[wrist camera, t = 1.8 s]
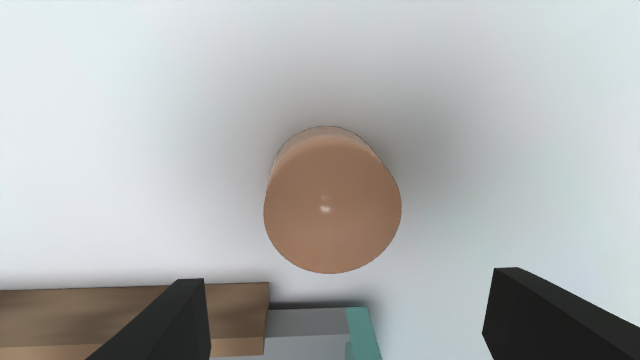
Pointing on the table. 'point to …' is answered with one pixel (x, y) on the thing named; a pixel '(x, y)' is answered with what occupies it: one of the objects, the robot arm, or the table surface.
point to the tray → (318, 335)
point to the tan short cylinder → (330, 201)
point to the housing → (121, 319)
